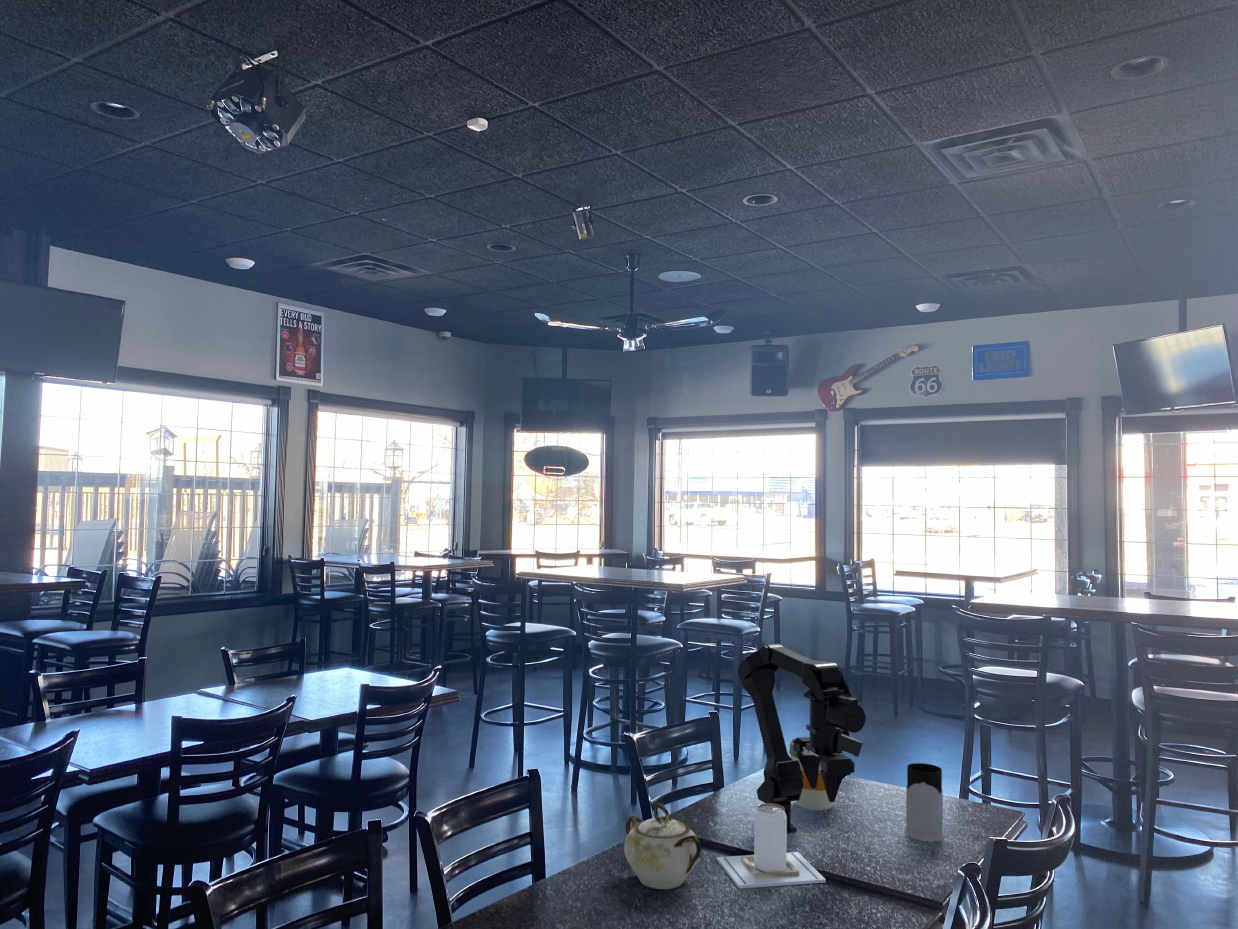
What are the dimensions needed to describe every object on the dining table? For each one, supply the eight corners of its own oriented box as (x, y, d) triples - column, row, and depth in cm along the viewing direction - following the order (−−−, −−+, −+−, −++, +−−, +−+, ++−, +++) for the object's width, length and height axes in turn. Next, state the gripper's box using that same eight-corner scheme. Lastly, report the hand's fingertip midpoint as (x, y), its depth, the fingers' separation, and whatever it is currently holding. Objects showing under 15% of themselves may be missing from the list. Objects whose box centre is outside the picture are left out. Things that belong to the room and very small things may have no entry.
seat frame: (741, 860, 186) (741, 856, 186) (782, 858, 188) (782, 854, 188) (756, 878, 177) (756, 874, 177) (799, 875, 179) (799, 871, 179)
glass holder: (902, 838, 202) (902, 770, 203) (907, 818, 215) (907, 754, 216) (943, 844, 199) (944, 775, 200) (946, 823, 212) (946, 759, 213)
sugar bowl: (599, 876, 179) (600, 799, 180) (650, 856, 189) (651, 784, 190) (673, 909, 165) (674, 826, 166) (724, 885, 175) (725, 807, 176)
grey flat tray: (716, 860, 188) (716, 856, 188) (797, 855, 191) (797, 851, 191) (738, 888, 174) (739, 885, 174) (825, 882, 178) (825, 878, 178)
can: (786, 875, 179) (786, 814, 180) (753, 872, 180) (754, 812, 181) (786, 863, 185) (787, 804, 186) (754, 860, 187) (755, 801, 187)
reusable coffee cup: (834, 816, 216) (834, 752, 216) (782, 807, 221) (783, 746, 222) (844, 800, 227) (845, 740, 228) (795, 793, 233) (796, 734, 233)
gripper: (878, 731, 187) (877, 807, 187) (838, 710, 205) (838, 780, 205) (828, 733, 185) (827, 810, 184) (792, 712, 203) (792, 782, 203)
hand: (822, 795), depth 194 cm, fingers open, 9 cm apart
